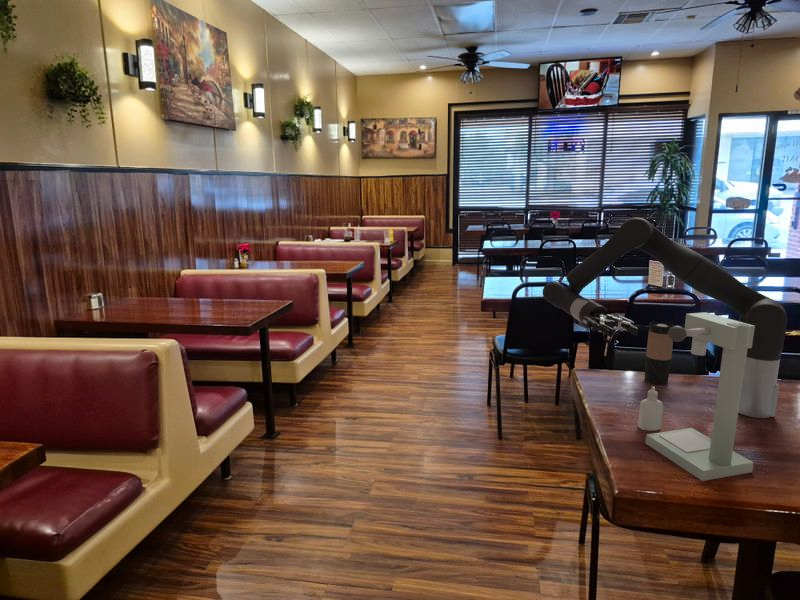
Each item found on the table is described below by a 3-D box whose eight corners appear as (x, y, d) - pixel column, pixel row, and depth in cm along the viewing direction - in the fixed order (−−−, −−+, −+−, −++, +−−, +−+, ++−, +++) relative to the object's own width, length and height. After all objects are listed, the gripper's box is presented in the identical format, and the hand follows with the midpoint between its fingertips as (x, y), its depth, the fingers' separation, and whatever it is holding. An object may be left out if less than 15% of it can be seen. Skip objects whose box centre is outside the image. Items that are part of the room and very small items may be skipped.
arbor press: (626, 446, 129) (638, 312, 122) (690, 436, 134) (706, 307, 127) (680, 484, 112) (699, 332, 105) (752, 472, 117) (774, 325, 110)
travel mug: (658, 386, 168) (665, 328, 164) (638, 379, 175) (644, 323, 171) (673, 382, 172) (680, 325, 168) (653, 375, 179) (659, 320, 174)
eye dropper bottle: (638, 422, 142) (642, 382, 140) (660, 427, 140) (665, 386, 137) (637, 429, 139) (641, 387, 136) (660, 433, 136) (664, 391, 133)
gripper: (571, 301, 155) (607, 321, 140) (609, 300, 159) (648, 319, 145) (567, 324, 157) (601, 346, 143) (604, 322, 162) (642, 343, 147)
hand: (625, 332), depth 144 cm, fingers open, 8 cm apart
